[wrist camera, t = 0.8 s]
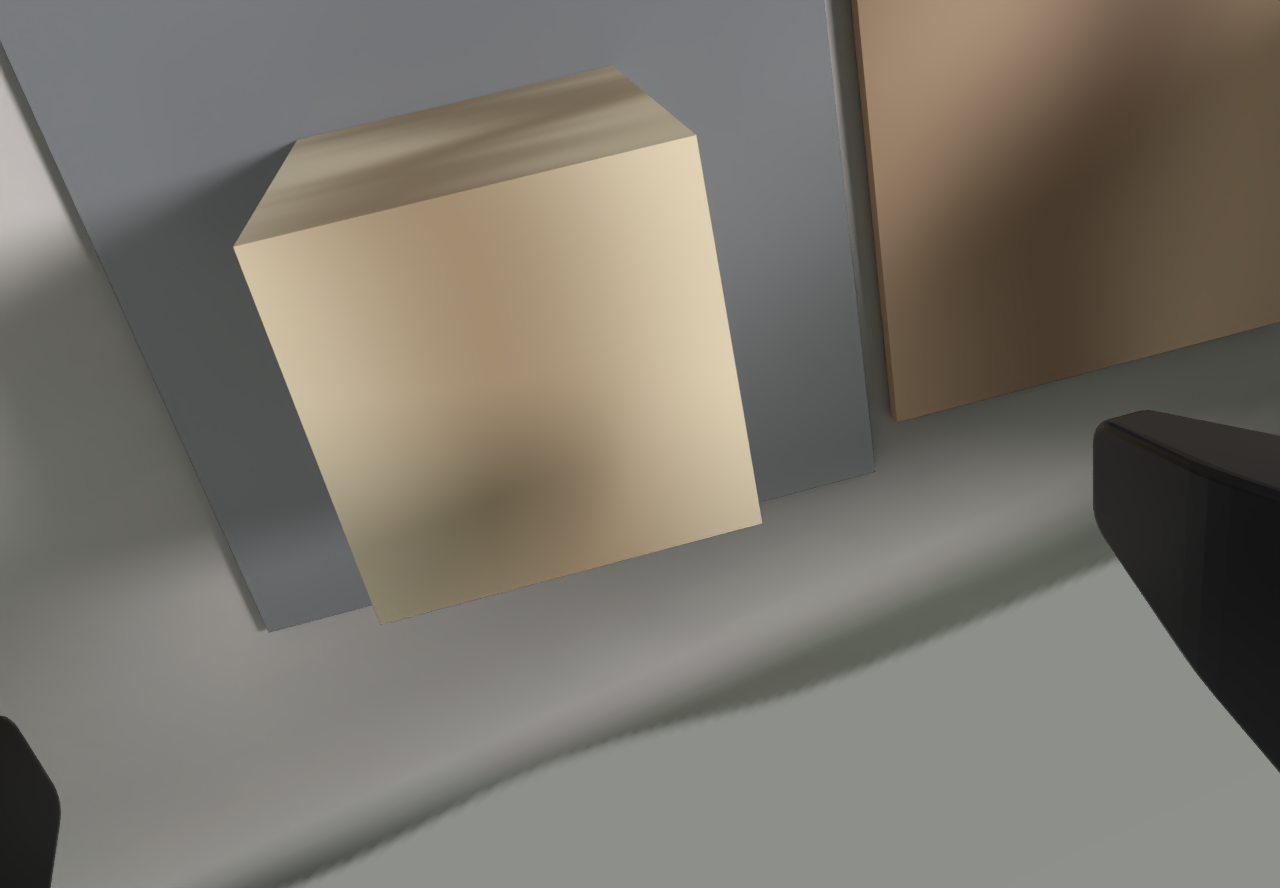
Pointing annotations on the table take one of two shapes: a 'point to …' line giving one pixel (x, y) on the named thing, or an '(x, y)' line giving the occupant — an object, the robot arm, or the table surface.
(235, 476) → the tile
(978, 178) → the pad
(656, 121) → the birch block
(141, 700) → the table surface
